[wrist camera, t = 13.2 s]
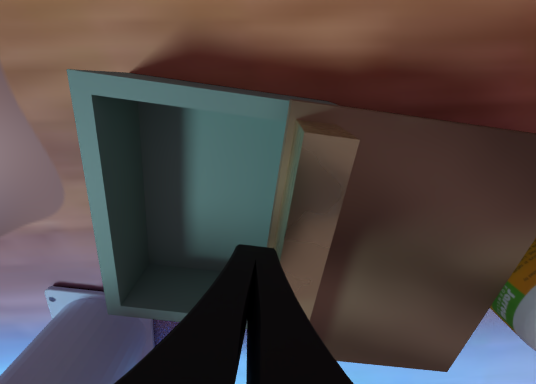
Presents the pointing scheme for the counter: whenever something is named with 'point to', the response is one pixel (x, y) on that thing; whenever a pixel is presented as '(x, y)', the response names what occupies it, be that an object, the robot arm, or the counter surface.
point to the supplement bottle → (520, 299)
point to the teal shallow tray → (174, 182)
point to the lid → (399, 228)
